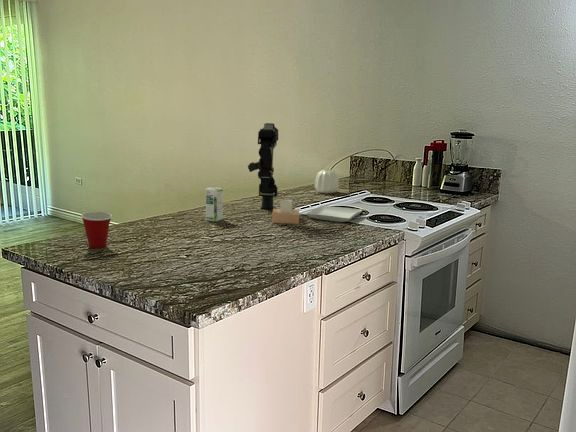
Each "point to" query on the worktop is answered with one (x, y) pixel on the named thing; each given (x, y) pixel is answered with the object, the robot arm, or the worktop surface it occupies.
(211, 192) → the syrup box
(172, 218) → the worktop surface
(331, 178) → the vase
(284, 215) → the stand
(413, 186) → the worktop surface
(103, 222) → the plastic cup
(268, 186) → the robot arm
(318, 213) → the salad plate
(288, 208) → the block
